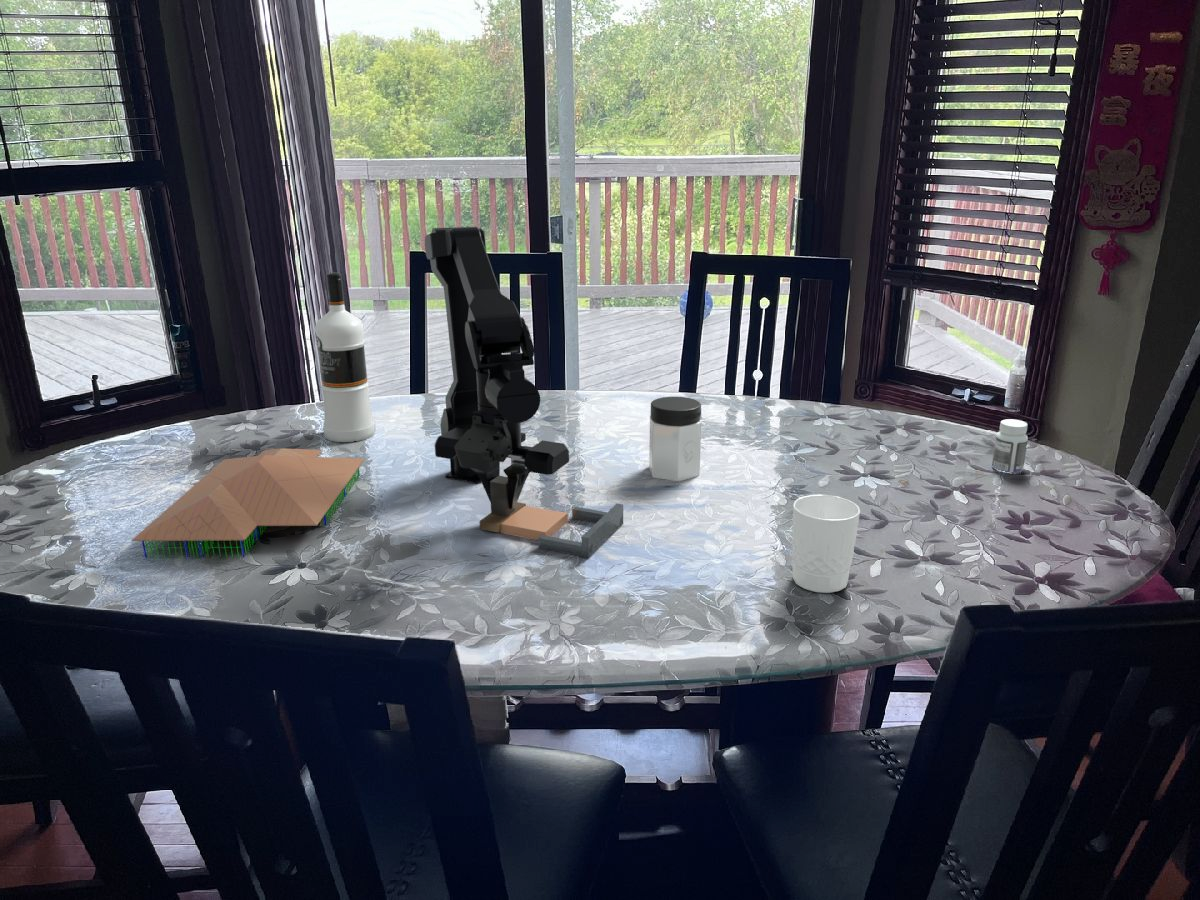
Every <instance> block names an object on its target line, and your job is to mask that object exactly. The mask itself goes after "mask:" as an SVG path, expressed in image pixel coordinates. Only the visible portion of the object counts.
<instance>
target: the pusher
mask: <svg viewBox="0 0 1200 900" xmlns="http://www.w3.org/2000/svg"><path fill="white" fill-rule="evenodd" d="M490 494H491V503H490V513H488V514H487V515H486V516H484V517H483V518H482V519H480V520H479V529H480V530H485V531H489V532H493V533H501V523H503V522H504V521H505V520H507V519H508V518H509V517H510V516H512V515H513V514H514V513H516V512H517V511H518V510H520V509H521V508H522V507H524V506H527V504H526V503H525V502H524V503H523V502H518V501H517V503H516V506H515V507H514V508H513V509H510V508H509V503H508V477H507V476H504V475H503V476H502V475H499V476H498V477H496V478H495V479H493V480H492V481H490Z"/></svg>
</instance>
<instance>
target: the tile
mask: <svg viewBox="0 0 1200 900" xmlns="http://www.w3.org/2000/svg"><path fill="white" fill-rule="evenodd" d="M568 513H569V512H563V511H559V510H558V511H557V510H551V509H546V508H542V507H541V508H540V507H535V506H530V505H526V506H524V507H522V508H521V509H520V510H518V511H517V512H516V513H514V514H513V515H512V516H510V517H509V518H508V519H507V520H505V521H504V522H503V523H501V531H500V533H501V534H504V535H510V536H515V537H520V538H526V539H531V540H535V541H539V537H540V536H541V535H545V536H550V537H554V535H555V534H557V532H559V530H561V529H562V528H563V527H564V526H566V525H567V524H568V523H569V514H568Z"/></svg>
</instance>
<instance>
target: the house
mask: <svg viewBox="0 0 1200 900" xmlns="http://www.w3.org/2000/svg"><path fill="white" fill-rule="evenodd" d="M322 452H323V449H308V448H306V449H304V448H303V449H302V448H285V447H284V448H272V449H264V450H262V452H260V453H259V454H258V455H255V456H254V455H253V456H244V457H235V458H224V459H223V460H221V462H219V463H218V464H217V465H216V466H215V467H214V468H213V469H212V470H210V471H209V472H208V473H206V475H204V477H202V478H201V479H200V480H199V481H198V482H196V484H194V485H193V486H192V487H190V489H188V490H187V491H186V492H185V493H184V494H183V495H181V496H180V497H179V498H177V500H176V501H175V502H173V504H172V505H170V506H169V507H168V508H167V509H165V511H163V512H162V513H161V514H160V515H158V517H156V518H155V519H154V520H153V521H152V522H151V523H149V524H148V525H147V526H146V527H145V528H144V529H142V531H140V532H139V533H137V534H136V535H135V537H133V539H131V541H132V542H141V543H142V547H143V553H144V558H145V559H148V555H149V556H150V554H151V557H152V559H154V554H153V551H155V550H154V549H156V553H157V558H158V559H160V555H159V550H158V549H162V553H163V557H164V559H166V556H165V555H166V554H165V549H168V553H169V557H170V559H172V555H171V550H170V549H173V548H174V551H175V556H176V557H177V558H178V555H177V553H178V552H177V549H180V551H181V557H182V558H184V553H183V549H185V556H186V558H187V557H189V558H190V556H189V555H190V554H191V555H192V553H193V558H194V557H195V558H196V557H198V558H199V554H200V558H201V557H204V556H205V553H206V552H207V553H206V554H207V558H208V559H209V558H210V557H209V550H210V549H211V548H212V552H213V553H212V554H213V557H215V558H216V556H215V551H214V550H215V548H218V551H219V556H220V557H221V558H222V555H221V549H224V551H225V557H227V558H228V554H227V548H230V551H231V558H232V557H233V558H234V555H233V548H234V549H236V551H237V557H239V558H240V555H239V549H238V548H239V546H238V541H239V542H240V549H241V554H242V558H243V557H244V558H245V555H246V554H247V553H248V551H249V552H250V548H251V549H252V545H253V546H254V543H255V542H256V541H257V540H258V541H259V539H258V538H259V537H260V536H261V535H262V534H263V532H264V533H265V530H266V529H267V527H268V526H269V527H303V526H304V527H306V526H307V527H311V526H313V527H316V526H318V525H319V524H320V526H322V521H321V520H322V519H324V526H325V525H326V526H327V525H328V524H327V523H329V521H331V519H332V516H334V514H335V512H337V510H338V509H339V507H340V505H342V504H341V503H343V501H344V500H345V498H346V496H347V495H348V493H349V492H351V490H352V488H353V486H355V484H356V480H358V479H359V478H360V477H361V474H360V473H361V472H360V467H361V466H362V464H363V463H364V461H365V459H366V458H357V457H355V458H352V457H326V456H325V457H324V456H319V455H320V454H321V453H322ZM359 476H360V477H359ZM358 477H359V478H358ZM344 497H345V498H344ZM269 527H268V528H269ZM266 531H267V530H266ZM248 538H249V539H248ZM254 538H255V539H254ZM147 541H148V543H147ZM157 541H158V543H157ZM162 541H163V542H167V546H168V547H164V544H163V542H162ZM169 541H172V542H173V546H170V545H169V544H170V543H169ZM177 541H179V544H180V545H179V547H178V546H176V544H175V543H176V542H177ZM181 541H182V542H183V543H184V544H183V545H184V546H182V543H181ZM214 541H217V546H214V545H215V542H214ZM219 541H223V545H224V546H220V543H219ZM225 541H229V545H230V546H226V543H225ZM231 541H235V544H236V546H232V542H231ZM151 543H152V546H151ZM154 543H155V545H154ZM187 543H188V544H187ZM193 543H194V544H193ZM200 543H201V544H200ZM159 544H160V545H161V546H158V545H159ZM209 544H210V545H209ZM213 544H214V545H213ZM255 544H256V543H255ZM198 546H199V547H198ZM246 547H247V548H246ZM182 548H183V549H182ZM194 548H196V549H195V551H194ZM188 549H189V551H188ZM208 549H209V550H208ZM149 550H150V554H149ZM152 550H153V551H152ZM198 550H199V552H198ZM204 550H205V552H204ZM195 552H196V556H195ZM198 553H199V554H198ZM203 555H204V556H203ZM247 555H248V554H247ZM220 557H219V558H220Z"/></svg>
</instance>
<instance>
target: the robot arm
mask: <svg viewBox="0 0 1200 900" xmlns="http://www.w3.org/2000/svg"><path fill="white" fill-rule="evenodd" d="M430 232H431V233H428V234H426V235H424V236H425V237H424V252H425V256H426V259H427V260H429V263H430V268H431V271H432V274H433V275H434V276H435V277H436V279H437V280H438V282H439V283H440V284H441V286H442V287H443V293H444V294H443V295H444V301H445V302H444V303H445V311H446V313H445V314H446V319H447V320H446V321H447V330H448V331H447V332H448V339H449V340H448V341H449V347H450V358H451V367H452V377H453V381H452V383H451V385H450V387H449V388H448V391H447V393H446V395H445V397H444V399H445V408H443V411H442V415H441V419H440V420H441V421H440V433H441V435H439V436H438V437H437V439H436V440H435V443H434V455H435V457H436V458H442V459H448V460H449V464H450V465H449V466H450V471H449V472H447V473H446V474H445V478H446V479H451V480H455V481H457V480H458V481H464V482H468V483H475V484H480V483H481V484H482V487H483V489H484V492H485V493H486V496H487V498H488V501H489V503H490V504H491V494H490V481H492V480H493V479H495V478H496V477H498V476H500V471H501V467H500V465H501V463H504V462H505V461H506V459H507V458H508V459H510V462H511V463H510V465H508V466H507V467H506V468H504V469H503V473H504V474H505V476H506V477H508V503H509V508H510V509H513V508H514V507H515V506H516V503H517V502H518V500H519V499H520V496H521V493H522V491H523V488H524V486H525V484H526V481H527V480H528V477H529V475H530V473H533V474H540V475H546V476H548V475H554V473H556V472H557V471H559V470H560V469H561V468H563V467H564V466H565V465H567V464H568V463H569V462H570V452H569V449H568V447H567V445H565V443H562V442H556V441H549V440H541V441H539V442H538V443H536V444H535V445H533V446H529V445H522V443H524V442H525V441H526V439H527V438H526V434H527V433H526V432H522V427H521V424H522V423H525V422H527V421H528V420H530V419H532V418H533V417H534V416H535V415H536V414H537V412H538V411H539V408H540V405H541V395H540V392H539V390H538V388H537V387H536V385H535V384H534V383H533V382H532V381H530V380H529V379H528V378H527V377H525V376H526V375H525V370H524V367H525V366H533V365H534V364H535V362H534V356H535V353H536V350H535V346H534V344H533V343H534V342H533V340H532V335H531V333H530V330H529V326H528V325H527V324H526V321H525V319H524V317H521V313H519V310H518V308H517V306H516V304H515V302H514V301H513V300H511V299H510V298H508V297H507V296H505V295H503V294H502V292H501V290H500V287H499V283H498V281H497V278H496V276H495V273H494V270H493V267H492V263H491V260H490V258H489V255H488V251H487V244H486V243H487V242H486V234H485V230H483V228H480V227H478V226H457V227H456V226H454V227H453V226H452V227H450V226H449V227H433V228H432V229H431V231H430ZM519 350H521V352H518V351H519Z"/></svg>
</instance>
